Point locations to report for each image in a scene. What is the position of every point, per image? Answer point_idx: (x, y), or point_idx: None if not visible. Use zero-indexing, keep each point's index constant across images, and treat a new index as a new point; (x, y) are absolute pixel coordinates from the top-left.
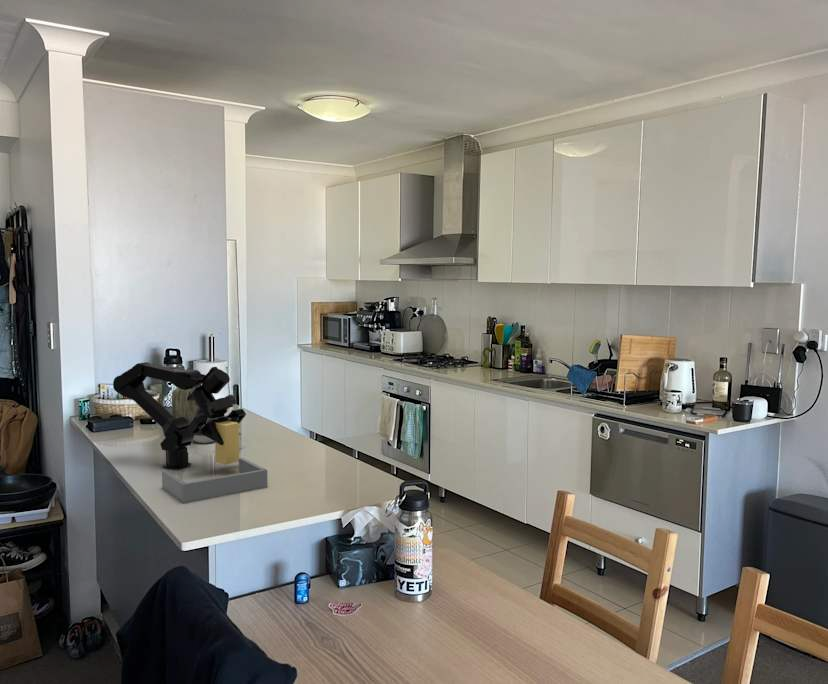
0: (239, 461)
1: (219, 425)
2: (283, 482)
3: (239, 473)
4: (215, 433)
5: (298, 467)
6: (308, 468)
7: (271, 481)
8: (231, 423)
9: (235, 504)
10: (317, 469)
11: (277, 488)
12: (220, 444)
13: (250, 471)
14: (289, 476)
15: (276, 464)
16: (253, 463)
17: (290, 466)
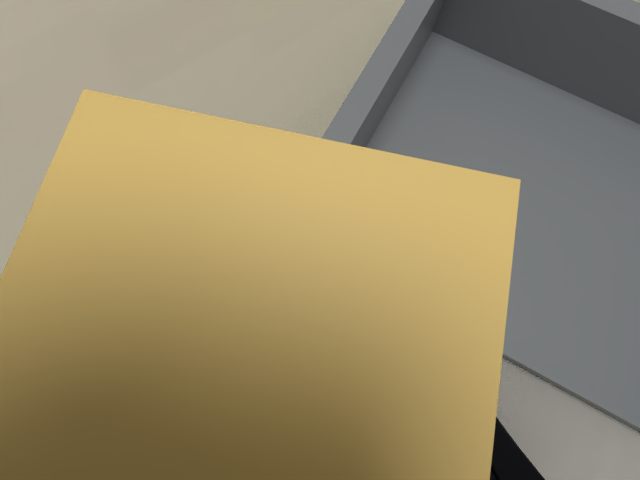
0: None
1: (475, 454)
2: (291, 27)
3: None
4: (506, 434)
5: (37, 94)
6: (42, 46)
7: (299, 78)
8: (217, 208)
9: None
10: (48, 5)
11: (376, 5)
12: None
13: (387, 96)
14: (197, 52)
15: (8, 224)
16: (375, 58)
17: (29, 137)
